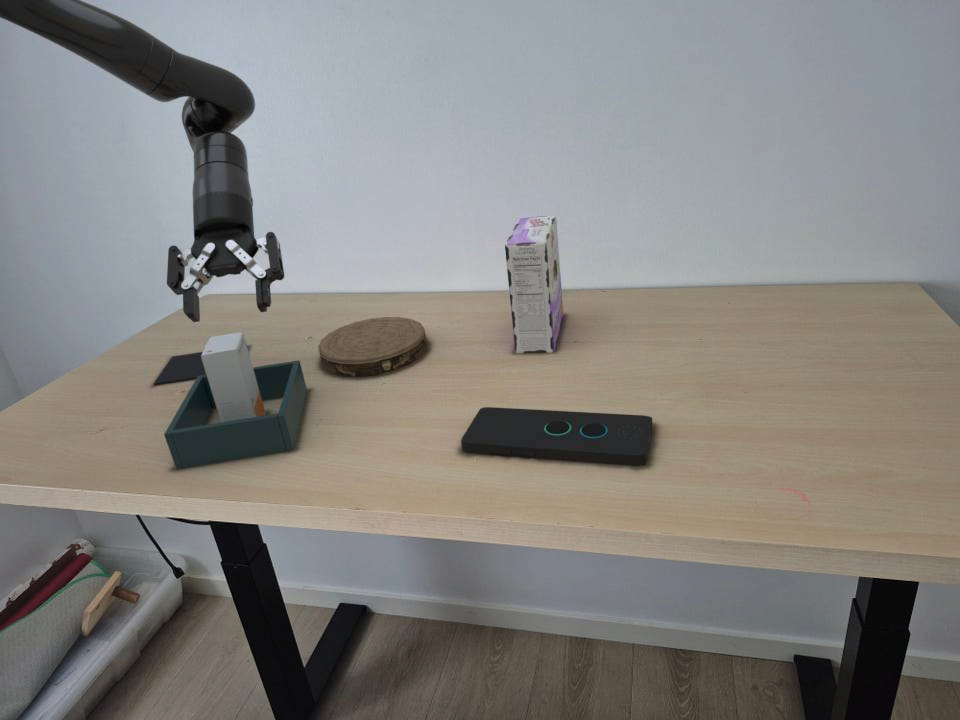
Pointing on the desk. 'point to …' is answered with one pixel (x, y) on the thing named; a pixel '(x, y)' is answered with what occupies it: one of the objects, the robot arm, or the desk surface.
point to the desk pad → (182, 369)
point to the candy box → (534, 284)
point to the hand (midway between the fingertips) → (228, 314)
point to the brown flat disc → (373, 347)
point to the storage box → (238, 421)
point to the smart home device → (560, 435)
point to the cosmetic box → (232, 378)
